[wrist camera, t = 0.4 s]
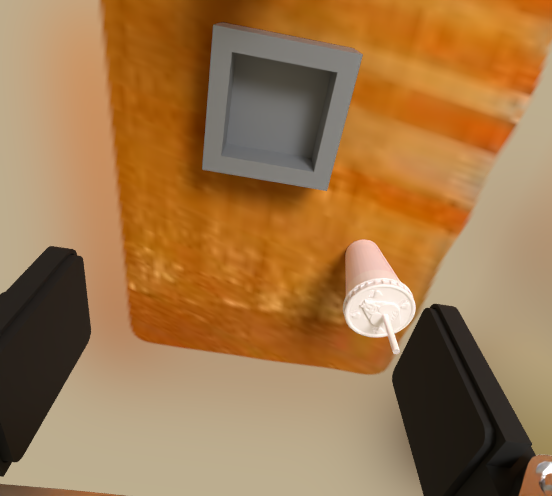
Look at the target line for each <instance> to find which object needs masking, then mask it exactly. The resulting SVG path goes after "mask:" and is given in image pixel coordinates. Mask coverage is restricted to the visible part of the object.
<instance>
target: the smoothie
mask: <svg viewBox="0 0 552 496" xmlns="http://www.w3.org/2000/svg"><path fill="white" fill-rule="evenodd" d="M345 265H346V297H345V300H344V303H343V313H344V316H345V319H346V322H347V324H348V325H349V327H350V328H351V329H352V330H353V331H355V332H356V333H358V334H360V335H363V336H367V337H385V336H388V338H389V341H390V344H391V348H392V351H393V353H394V354H398V353H399V352H400V350H399V347H398V344H397V341H396V338H395V335H394V334H395V333H397V332H399V331H400V330H402V329H403V328H405V327H406V326H407V325H408V324H409V323H410V321H411V320H412V318H413V316H414V314H415V301H414V299H413V295H412V293H411V291H410V290H409V288H408V287H407V286H406V285H404V284H403V283H402V282H400V280H399V279H398V277H397V276H396V274H395V273H394V271H393V270H392V268H391V266H390V265H389V263H388V262H387V260H386V259H385V257H384V256H383V254H382V253H381V251H380V250H379V248H378V246H377V245H376V244H375V243H374V242H372V241H370V240H358V241H355V242H353V243H352V244H351V245H350V246H349V247H348V248H347V250H346V253H345Z"/></svg>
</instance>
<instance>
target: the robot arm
mask: <svg viewBox="0 0 552 496" xmlns="http://www.w3.org/2000/svg"><path fill="white" fill-rule="evenodd" d="M90 334H91V326H90V317H89V308H88V299H87V291H86V281H85V272H84V263H83V258H82V257H81V256H77V253H76V251H75V250H73V249H68V248H61V247H54V246H50V247H48V248H47V249H46V250H45V251H44V252H43V253H42V254H41V255H40V256H39V257H38V258H37V259H36V260H35V261H34V262H33V264H32V265H31V266H30V267H29V268H28V269H27V270H26V271H25V272H24V273H23V274H22V275H21V276H20V277H19V278H18V279H17V280H16V281H15V282H14V284H13V285H12V286H11V287H10V288H9V289H8V290H7V291H6V292H4V293H2V294H0V476H4V475H5V473H6V472H7V470H8V468H9V466H10V465H11V463H12V462H18V461H19V460H20V459H21V458H22V457H23V455H24V453H25V452H26V450H27V448H28V447H29V445H30V443H31V441H32V439H33V438H34V436H35V434H36V433H37V431H38V429H39V427H40V426H41V424H42V422H43V420H44V419H45V417H46V415H47V413H48V412H49V410H50V408H51V406H52V405H53V403H54V401H55V399H56V398H57V396H58V394H59V392H60V391H61V389H62V387H63V385H64V383H65V382H66V380H67V378H68V377H69V375H70V373H71V371H72V370H73V368H74V366H75V364H76V363H77V361H78V359H79V357H80V356H81V354H82V352H83V350H84V349H85V347H86V345H87V343H88V341H89V339H90ZM392 382H393V386H394V390H395V394H396V397H397V401H398V404H399V408H400V411H401V415H402V419H403V423H404V426H405V430H406V433H407V437H408V440H409V444H410V448H411V451H412V455H413V458H414V462H415V465H416V469H417V473H418V476H419V480H420V484H421V487H422V491H423V494H424V496H552V456H550V455H537V456H536V455H535V453H534V451H533V449H532V447H531V445H532V443H531V441H530V440H529V437H528V436H527V434H526V432H525V430H524V429H523V427H522V425H521V423H520V421H519V419H518V418H517V416H516V414H515V412H514V410H513V408H512V407H511V405H510V403H509V401H508V399H507V398H506V396H505V394H504V392H503V390H502V389H501V387H500V385H499V383H498V382H497V380H496V378H495V376H494V374H493V372H492V371H491V369H490V367H489V365H488V363H487V362H486V360H485V358H484V356H483V354H482V353H481V351H480V349H479V348H478V346H477V344H476V342H475V340H474V338H473V336H472V334H471V333H470V331H469V329H468V327H467V325H466V324H465V322H464V320H463V318H462V316H461V315H460V313H459V311H458V310H457V308H456V307H453V306H446V305H440V304H433V305H431V307H430V308H425V309H424V311H423V312H422V314H421V317H420V318H419V320H418V323H417V325H416V327H415V329H414V331H413V333H412V335H411V337H410V339H409V341H408V343H407V345H406V347H405V349H404V351H403V353H402V355H401V357H400V359H399V361H398V363H397V365H396V367H395V369H394V371H393V375H392ZM0 496H124V495H114V494H105V493H104V494H103V493H95V492H85V491H74V490H64V489H52V488H41V487H29V486H16V485H5V484H0Z"/></svg>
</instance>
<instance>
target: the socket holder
mask: <svg viewBox="0 0 552 496" xmlns="http://www.w3.org/2000/svg"><path fill="white" fill-rule="evenodd" d="M362 56H363V54H361V53H360V52H358V51H357V50H355V49H354V48H350V47H345V46H340V45H335V44H330V43H325V42H320V41H315V40H310V39H305V38H299V37H294V36H289V35H284V34H279V33H274V32H269V31H264V30H259V29H254V28H249V27H244V26H239V25H234V24H229V23H224V22H220V23H217V24H214V25H213V35H212V48H211V61H210V74H209V87H208V100H207V113H206V126H205V138H204V151H203V164H202V170H208V171H213V172H219V173H225V174H231V175H237V176H243V177H249V178H254V179H260V180H266V181H272V182H278V183H284V184H290V185H295V186H301V187H307V188H313V189H319V190H325V191H327V188H328V184H329V181H330V177H331V173H332V169H333V166H334V162H335V158H336V154H337V150H338V147H339V143H340V139H341V135H342V131H343V128H344V124H345V120H346V116H347V113H348V109H349V105H350V101H351V97H352V94H353V90H354V86H355V82H356V78H357V75H358V71H359V67H360V63H361V59H362Z"/></svg>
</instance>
